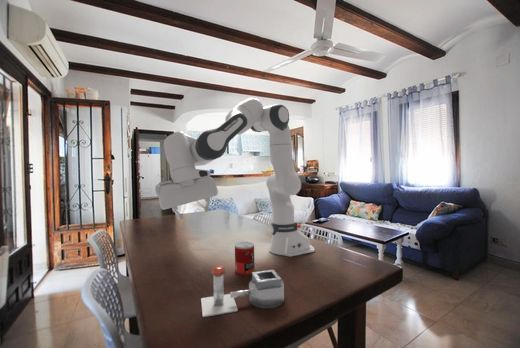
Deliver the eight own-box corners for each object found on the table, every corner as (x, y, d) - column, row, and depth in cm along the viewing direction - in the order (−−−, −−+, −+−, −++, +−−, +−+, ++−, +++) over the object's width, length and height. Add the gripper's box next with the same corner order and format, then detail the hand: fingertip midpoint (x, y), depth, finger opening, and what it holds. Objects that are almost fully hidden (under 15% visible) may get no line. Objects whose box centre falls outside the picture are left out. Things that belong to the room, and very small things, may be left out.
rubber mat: (232, 294, 82) (232, 293, 82) (237, 311, 73) (237, 309, 73) (201, 299, 80) (201, 298, 80) (202, 317, 70) (202, 315, 70)
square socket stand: (277, 288, 86) (276, 266, 86) (289, 305, 75) (289, 280, 75) (227, 296, 81) (227, 273, 81) (233, 315, 71) (233, 288, 71)
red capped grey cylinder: (224, 299, 78) (223, 264, 78) (225, 306, 75) (225, 269, 75) (211, 301, 77) (211, 266, 77) (213, 308, 74) (212, 271, 74)
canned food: (247, 277, 95) (247, 248, 95) (231, 272, 100) (230, 245, 99) (258, 270, 102) (257, 243, 102) (242, 266, 106) (242, 240, 106)
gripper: (155, 182, 81) (165, 224, 80) (213, 170, 91) (223, 206, 90) (152, 185, 86) (162, 224, 86) (208, 173, 97) (218, 207, 96)
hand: (194, 215), depth 88 cm, fingers open, 8 cm apart
